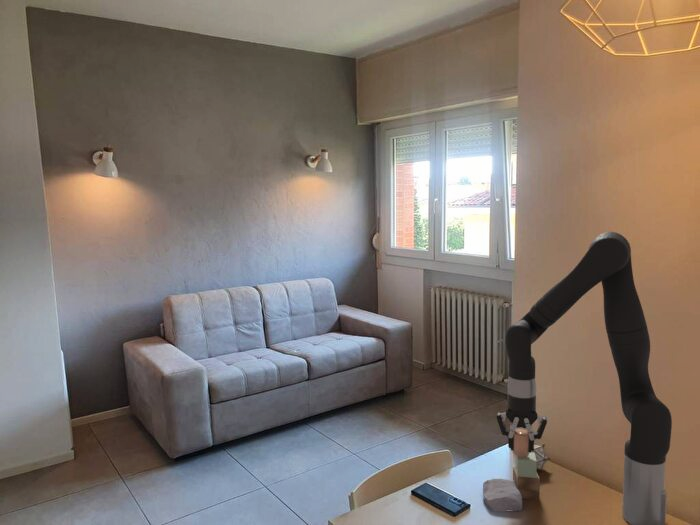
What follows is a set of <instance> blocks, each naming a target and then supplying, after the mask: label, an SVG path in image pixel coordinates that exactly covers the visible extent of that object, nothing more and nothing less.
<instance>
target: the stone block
mask: <svg viewBox="0 0 700 525" xmlns="http://www.w3.org/2000/svg"><path fill="white" fill-rule="evenodd" d="M482 487H483V488H482V497H483V499H484V502H485V504H486V506H487V507H488V508H489V509H490V510H492V511H495V512H501V511H502V512H508V511H507V510H512V511H511V512H516V511H517V510H521V511H523V498H522V497H521V494H520V492H519V490H518V489H517V487H516V483H515V481H514V480H513V479H507V478H491V479H487V480H486V481H484V482H483V483H482ZM513 510H515V511H513ZM517 512H518V511H517Z"/></svg>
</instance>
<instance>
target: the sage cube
mask: <svg viewBox="0 0 700 525" xmlns="http://www.w3.org/2000/svg"><path fill="white" fill-rule="evenodd" d="M515 456H516V457H515V467H516V470H517V476H518V477H529V478H536V472H537V470H538V469H537V461H536V457H535V453H533V452H531V453H529V455H528V456H525V457H521V456H517V455H515Z"/></svg>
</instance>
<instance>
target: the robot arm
mask: <svg viewBox="0 0 700 525" xmlns="http://www.w3.org/2000/svg"><path fill="white" fill-rule="evenodd" d="M631 248H632V247H631V245H630V242H629V240H628V239H627V238H626V237H625V236H623V235H622V234H620V233H619V232H615V231H606V232H603V233H600V234H598V235H597V236H596V237H595V238H594V240H593V241H592V242H591V243H590V245H589V247H588V250H587V251H586V252H585V254H584V256H583V257H581V259H580V261H579V262H578V263H577V265H576V266H575V267H574V268H573V269H572V270H571V271H570V272H569V273H568V274H567V275H566V276H565V277H564V278H563V279H561V280H560V281H559V282H557V283H556V284H555V285H554V286H552V287H551V288H550V289H549V290H547V292H545V293H544V295H542V296H541V297H540V298H539V299H538V300H537V301H536V302H535V303H534V304H533V305H532V306H531V308H530V310H529V311H528V312H527V313H526V314H525V315H523V316H522V317H521V318H520V319H519V320H518V321H516V322H515V323H513V324H511V325H510V326H509V327H508V329H507V330H506V331H505V347H506V353H507V358H508V380H507V409H506V410H505V412H500V411H498V412H497V413H496V420H497V424H498V427H499V429H500V432H501V435H502V436H506V437H507V440H508V448H509V449H510V451H512V452H513V440H514V438H513V435H514V432H515V430H516V428H517V429H521V428H522V429H525V430H526V431H527V432H528V434H529V453H531V451H533V450H534V444H535V440H541V439H542V437H543V434H544V432H545V430H546V429H545V428H546V426H547V424H548V418H547V417H546V415H545V416H541V415H538V413H537V382H536V381H537V380H536V360H535V358H534V357H533V356H532V344H533V343H535V342H536V341H537V340H539V338H540V337H541V336H543V334H544V333H545V332H546V331H547V330H548V329H549V327H551V326H552V325H554V324H555V323H556V322H557V321H558V320H560V318H562V317H563V316H564V315H565V314H567V312H568V311H569V310H570V309H571V308H572V307H573V306H574V305H575V304H576V303H577V302H578V301H579V300H580V299H582V297H584V296H585V295H586V294H587V293H588V292H589V291H590V290H592V289H593V288H594V287H595V286H598V284H600V283H601V285H602V292H603V316H604V324H605V330H606V331H605V332H606V335H607V336H606V337H607V339H608V343H609V347H610V351H611V355H612V359H613V362H614V365H615V369H616V373H617V377H618V384H619V390H620V391H619V392H620V393H619V394H620V402H621V410H622V413H623V416H624V417H625V419H626V420H627V421H628V422H629V423H630V437H629V439H627V441H626V442H625V443H624V456H623V480H622V481H623V483H622V484H623V486H622V488H623V489H622V506H621V507H622V508H621V509H622V510H621V511H622V512H621V514H622V517H623V519H624V520H625V521H626V522H627V523H628V524H630V525H666V519H667V517H666V516H667V496H668V495H667V491H666V489H665V486H666V485H665V482H666V481H665V480H666V461H667V454H668V453H669V451H670V447H671V437H672V428H673V427H672V425H673V421H672V414H671V410H670V409H669V408H668V407H667V405H666V404H664V402H662V401H661V400H660V399H659V398H658V397H657V396H656V394H655V390H654V387H653V385H652V384H653V383H652V381H651V378H650V375H649V373H650V372H649V362H650V356H651V339H650V335H649V329H648V325H647V324H648V323H647V322H646V321H647V320H646V317H645V313H644V311H643V306H642V303H641V300H640V298H639V294H638V291H637V288H636V285H635V280H634V274H633V266H632V265H633V264H632V249H631ZM506 418H507V419H508V420H509V422H510V423H511V424H510V426H509V429H507V427H506V424H505V421H506ZM536 421H537V424H538V427H537V430H536V432H534V430H533V424H534V423H535V422H536Z"/></svg>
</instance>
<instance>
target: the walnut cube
mask: <svg viewBox="0 0 700 525" xmlns="http://www.w3.org/2000/svg"><path fill="white" fill-rule="evenodd" d="M512 480H514V481H515V483H516V487H517V489H518V490H519V492H520V494H521V497H522V499H538V500H539V499H540V497H541V495H540V494H541V492H540V490H541V489H540V488H541V486H540V485H541V484H540V483H541V480H540V476H539V475H538V472H537V471H536V478H529V477H518V476H517V470H516V466H515V467H514V466H513V467H512Z"/></svg>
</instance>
